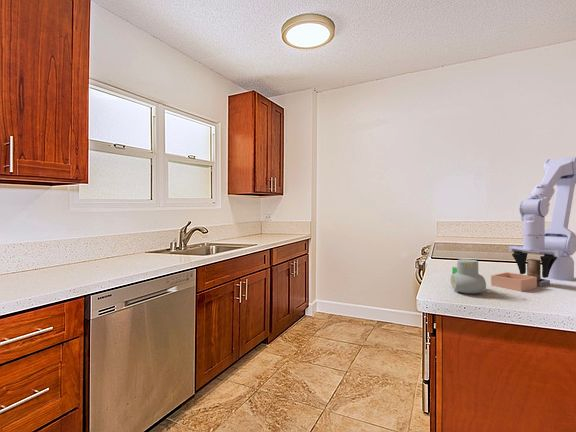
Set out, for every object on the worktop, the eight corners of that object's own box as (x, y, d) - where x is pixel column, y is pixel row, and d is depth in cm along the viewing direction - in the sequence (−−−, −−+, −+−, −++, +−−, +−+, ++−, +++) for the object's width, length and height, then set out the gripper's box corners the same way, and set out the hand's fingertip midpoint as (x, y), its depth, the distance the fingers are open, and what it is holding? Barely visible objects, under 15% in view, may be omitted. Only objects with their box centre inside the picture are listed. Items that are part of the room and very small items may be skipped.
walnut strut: (530, 282, 110) (530, 258, 110) (542, 284, 107) (542, 260, 107) (524, 283, 109) (524, 259, 109) (536, 285, 106) (537, 261, 105)
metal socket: (528, 282, 112) (528, 276, 112) (549, 286, 107) (550, 280, 107) (517, 284, 109) (517, 278, 109) (539, 288, 104) (539, 282, 104)
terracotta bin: (506, 283, 111) (506, 272, 111) (536, 289, 103) (536, 277, 103) (491, 287, 107) (491, 275, 107) (520, 293, 99) (520, 280, 99)
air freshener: (449, 287, 109) (449, 257, 108) (476, 288, 107) (476, 258, 106) (457, 295, 98) (457, 263, 98) (488, 297, 96) (488, 264, 96)
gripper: (503, 234, 112) (503, 273, 113) (553, 237, 99) (553, 281, 100) (515, 233, 115) (515, 270, 116) (564, 236, 102) (564, 278, 103)
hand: (533, 275), depth 108 cm, fingers open, 6 cm apart
